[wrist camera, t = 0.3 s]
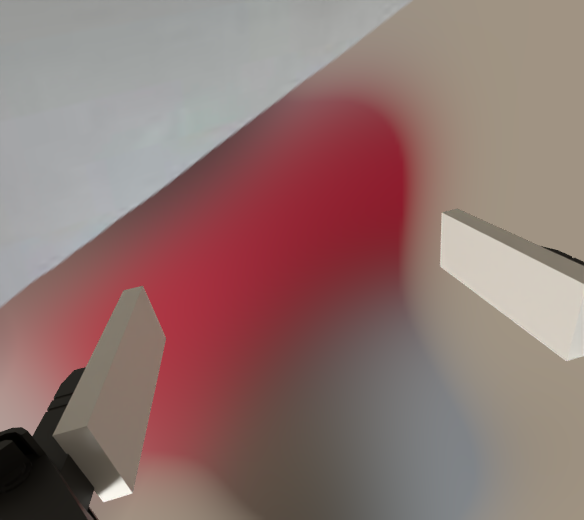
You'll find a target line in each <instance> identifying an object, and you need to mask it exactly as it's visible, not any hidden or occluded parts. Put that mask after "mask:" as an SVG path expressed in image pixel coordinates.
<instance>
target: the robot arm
mask: <svg viewBox="0 0 584 520" xmlns="http://www.w3.org/2000/svg"><path fill="white" fill-rule="evenodd" d="M441 223H442V224H441V253H440V254H441V255H440V267H442V268H443V269H444V270H446V271H447V272H448V273H450V274H451V275H452V276H454V277H455V278H456V279H458V280H459V281H460V282H462V283H463V284H464V285H466V286H467V287H468V288H470V289H471V290H472V291H474V292H475V293H476V294H478V295H479V296H480V297H482V298H483V299H484V300H486V301H487V302H488V303H490V304H491V305H492V306H494V307H495V308H496V309H498V310H499V311H500V312H502V313H503V314H504V315H506V316H507V317H508V318H510V319H511V320H512V321H514V322H515V323H516V324H518V325H519V326H520V327H522V328H523V329H524V330H526V331H527V332H528V333H530V334H531V335H532V336H534V337H535V338H536V339H538V340H539V341H540V342H542V343H543V344H544V345H546V346H547V347H548V348H550V349H551V350H552V351H554V352H555V353H556V354H558V355H559V356H560V357H562V358H563V359H564V360H566V361H569V360H572V359H575V358H578V357H582V356H584V262H583V261H581V260H578V259H576V258H572V256H569V255H567V254H565V253H562V252H560V251H558V250H555V249H550V248H546V247H542V246H539V245H536V244H534V243H532V242H530V241H528V240H526V239H523V238H521V237H519V236H517V235H515V234H512V233H510V232H508V231H506V230H503V229H501V228H499V227H497V226H494V225H493V224H490V223H488V222H486V221H483V220H482V219H479V218H477V217H475V216H473V215H470V214H468V213H466V212H464V211H461V210H459V209H454V210H450V211H446V212H442V221H441ZM165 340H166V337H165V335H164V333H163V331H162V328H161V326H160V324H159V321H158V319H157V317H156V315H155V312H154V310H153V308H152V306H151V303H150V301H149V299H148V297H147V294H146V292H145V290H144V288H143V286H140V287H136V288H132V289H128V290H124V291H123V293H122V295H121V297H120V299H119V301H118V303H117V305H116V307H115V309H114V311H113V313H112V316H111V317H110V320H109V321H108V323H107V326H106V327H105V330H104V332H103V334H102V336H101V338H100V340H99V342H98V344H97V346H96V348H95V350H94V352H93V354H92V356H91V358H90V360H89V362H88V364H87V366H86V367H85V368H81V369H77V370H74V371H73V372H72V373H71V374H70V375H69V376H68V377H67V379H66V380H65V381H64V382H63V383H62V384H61V385H60V387H59V389H58V391H57V393H56V394H55V396H54V400H53V401H52V402H51V404H50V406H49V407H48V409H47V410H48V412H46V413H45V415H44V416H43V418H42V420H41V422H40V424H39V426H38V427H37V429H36V431H35V433H34V435H33V436H31V435H30V434H29V432H28V431H27V430H25V429H23V428H21V427H20V428H11V429H8V430H5V431H2V432H0V520H98V518H97V517H96V515H95V514H94V512H93V511H92V510H91V509H90V507H89V504H90V501H91V498H92V494H93V491H95V492H96V493H97V494H98V496H99V497H100V498H101V500H102V501H103V502H106V501H109V500H112V499H115V498H119V497H122V496H125V495H128V494H132V493H133V489H134V484H135V479H136V475H137V470H138V465H139V461H140V457H141V452H142V447H143V442H144V438H145V433H146V428H147V424H148V419H149V414H150V410H151V405H152V401H153V396H154V391H155V387H156V382H157V378H158V373H159V368H160V363H161V359H162V354H163V350H164V345H165Z"/></svg>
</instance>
